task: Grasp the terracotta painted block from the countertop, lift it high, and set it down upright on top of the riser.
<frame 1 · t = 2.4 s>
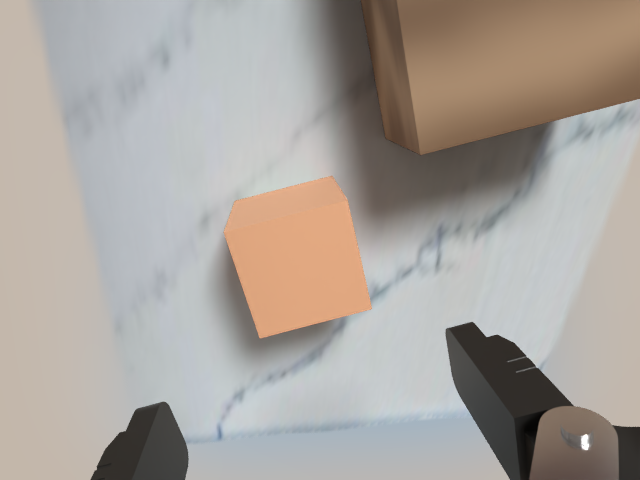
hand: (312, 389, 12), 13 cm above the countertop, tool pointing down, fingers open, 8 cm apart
block: (296, 233, 25), on the countertop
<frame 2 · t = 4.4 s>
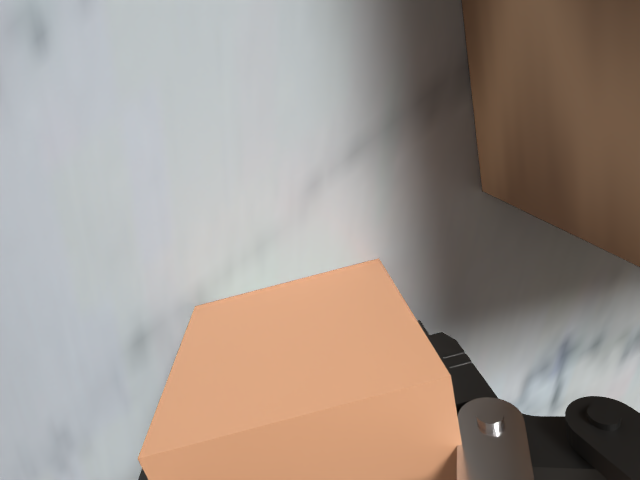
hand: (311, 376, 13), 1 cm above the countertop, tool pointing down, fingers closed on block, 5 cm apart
block: (310, 359, 13), on the countertop, touching gripper
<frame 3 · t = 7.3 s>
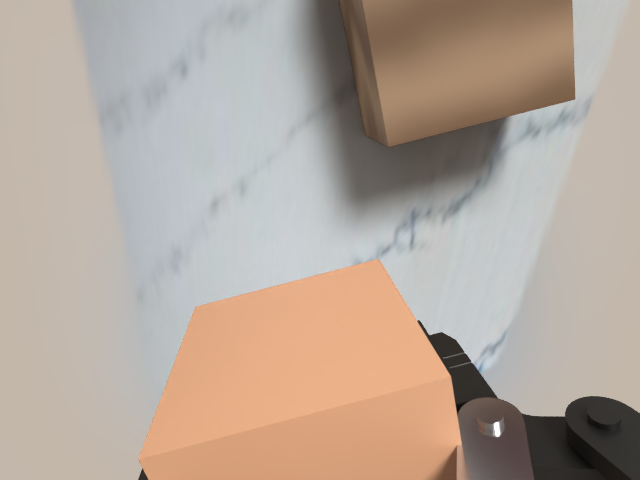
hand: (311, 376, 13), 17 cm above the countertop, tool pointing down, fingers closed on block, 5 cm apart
block: (310, 360, 13), point 17 cm above the countertop, touching gripper
riser: (426, 15, 26), on the countertop
when the fingers open (8 cm above the countertop, at t = 10.1 s): block drops 1 cm, resting on riser.
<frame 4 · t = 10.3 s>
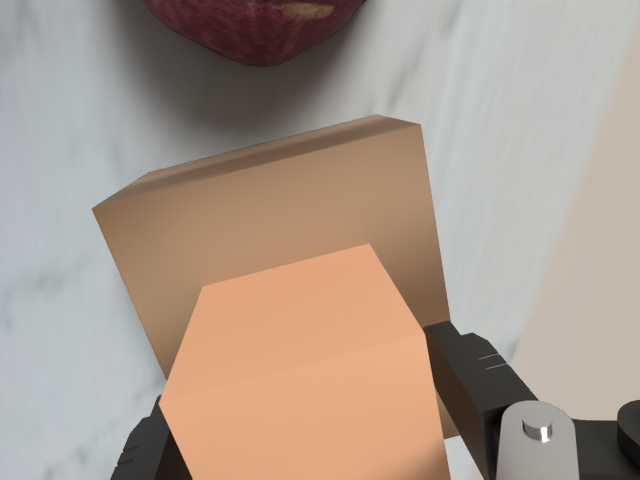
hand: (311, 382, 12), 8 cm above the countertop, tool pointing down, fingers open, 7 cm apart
block: (306, 336, 15), point 6 cm above the countertop, touching riser
riser: (297, 268, 20), on the countertop
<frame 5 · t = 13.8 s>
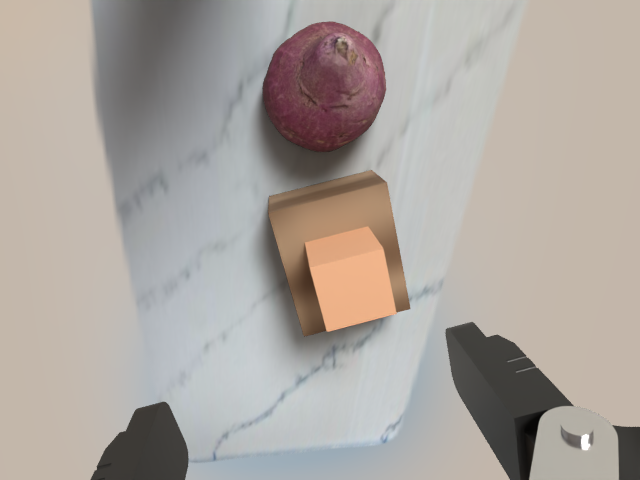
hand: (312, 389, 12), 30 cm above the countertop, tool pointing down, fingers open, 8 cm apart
vegetable: (321, 90, 38), on the countertop
block: (343, 263, 37), point 6 cm above the countertop, touching riser
riser: (334, 240, 43), on the countertop
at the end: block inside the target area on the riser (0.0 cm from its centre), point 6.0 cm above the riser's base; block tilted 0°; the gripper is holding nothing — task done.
